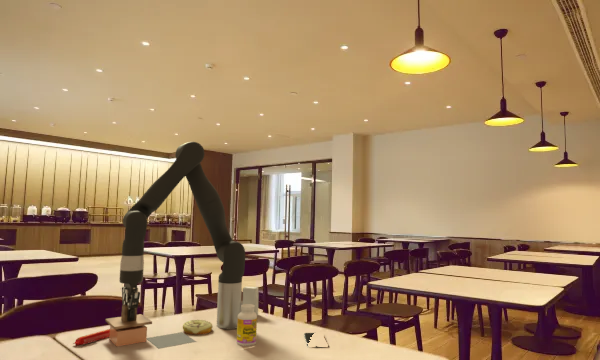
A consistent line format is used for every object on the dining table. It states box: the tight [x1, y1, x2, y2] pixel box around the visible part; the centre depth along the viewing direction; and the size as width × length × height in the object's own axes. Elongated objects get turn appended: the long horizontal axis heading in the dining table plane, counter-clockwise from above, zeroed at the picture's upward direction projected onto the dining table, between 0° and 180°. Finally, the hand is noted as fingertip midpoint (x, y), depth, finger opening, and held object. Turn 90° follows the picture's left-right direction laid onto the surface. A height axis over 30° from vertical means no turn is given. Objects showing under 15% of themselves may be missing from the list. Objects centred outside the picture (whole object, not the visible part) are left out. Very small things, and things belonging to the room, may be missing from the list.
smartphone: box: [303, 332, 315, 347], centre depth 141 cm, size 7×1×15 cm
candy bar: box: [72, 328, 110, 346], centre depth 137 cm, size 16×4×3 cm, turn 153°
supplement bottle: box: [236, 304, 258, 347], centre depth 137 cm, size 7×7×13 cm
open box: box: [108, 325, 148, 347], centre depth 136 cm, size 10×10×5 cm
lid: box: [105, 303, 153, 330], centre depth 137 cm, size 12×12×6 cm
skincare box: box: [242, 285, 259, 316], centre depth 175 cm, size 6×4×12 cm
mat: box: [146, 331, 197, 350], centre depth 137 cm, size 13×13×1 cm
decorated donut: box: [182, 319, 214, 335], centre depth 149 cm, size 10×11×4 cm
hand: (129, 318), depth 137 cm, fingers closed on lid, 3 cm apart
